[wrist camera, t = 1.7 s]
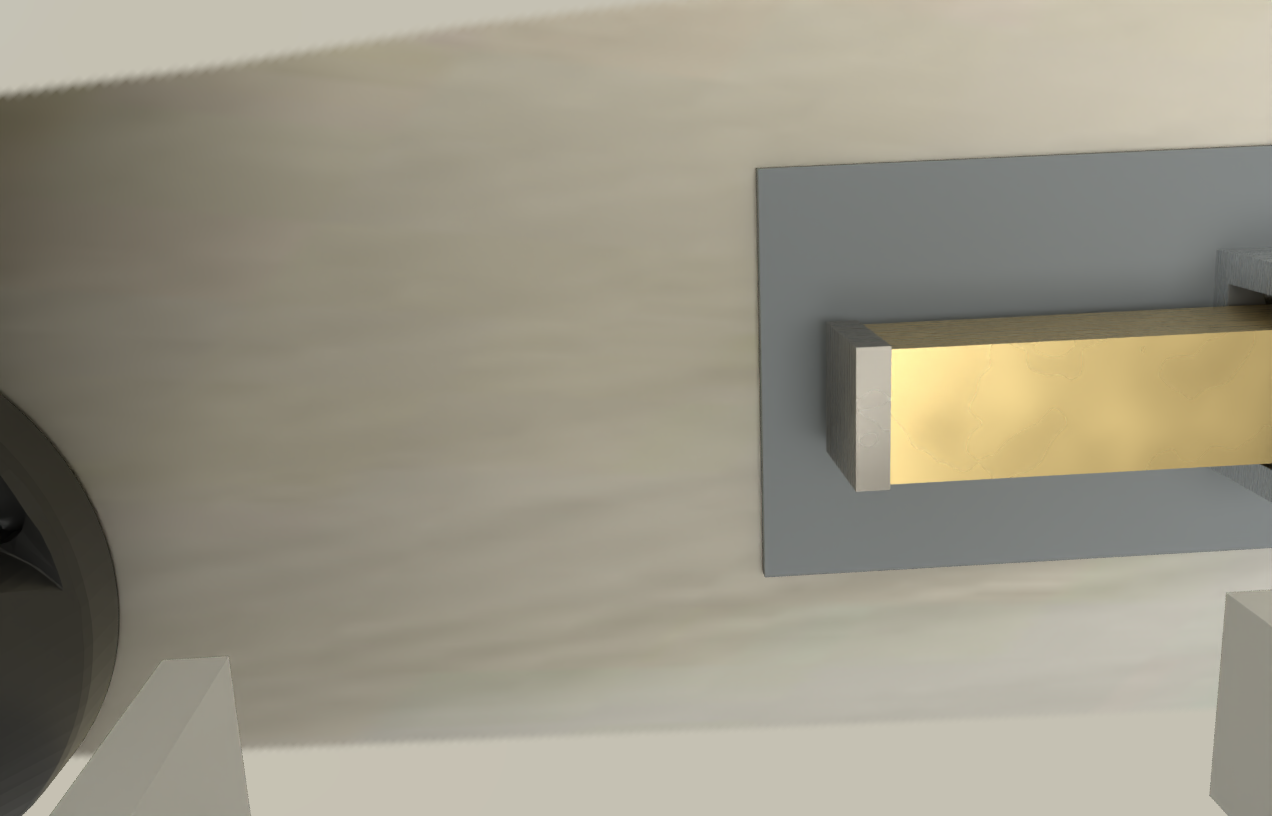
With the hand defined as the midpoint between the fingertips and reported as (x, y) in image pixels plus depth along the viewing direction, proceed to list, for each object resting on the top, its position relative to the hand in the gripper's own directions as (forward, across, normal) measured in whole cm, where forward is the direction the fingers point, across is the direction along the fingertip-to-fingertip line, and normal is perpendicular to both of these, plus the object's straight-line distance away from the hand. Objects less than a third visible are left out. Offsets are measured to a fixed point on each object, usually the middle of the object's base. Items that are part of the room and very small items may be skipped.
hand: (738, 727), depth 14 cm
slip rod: (+17, +13, 0) cm, 21 cm away
